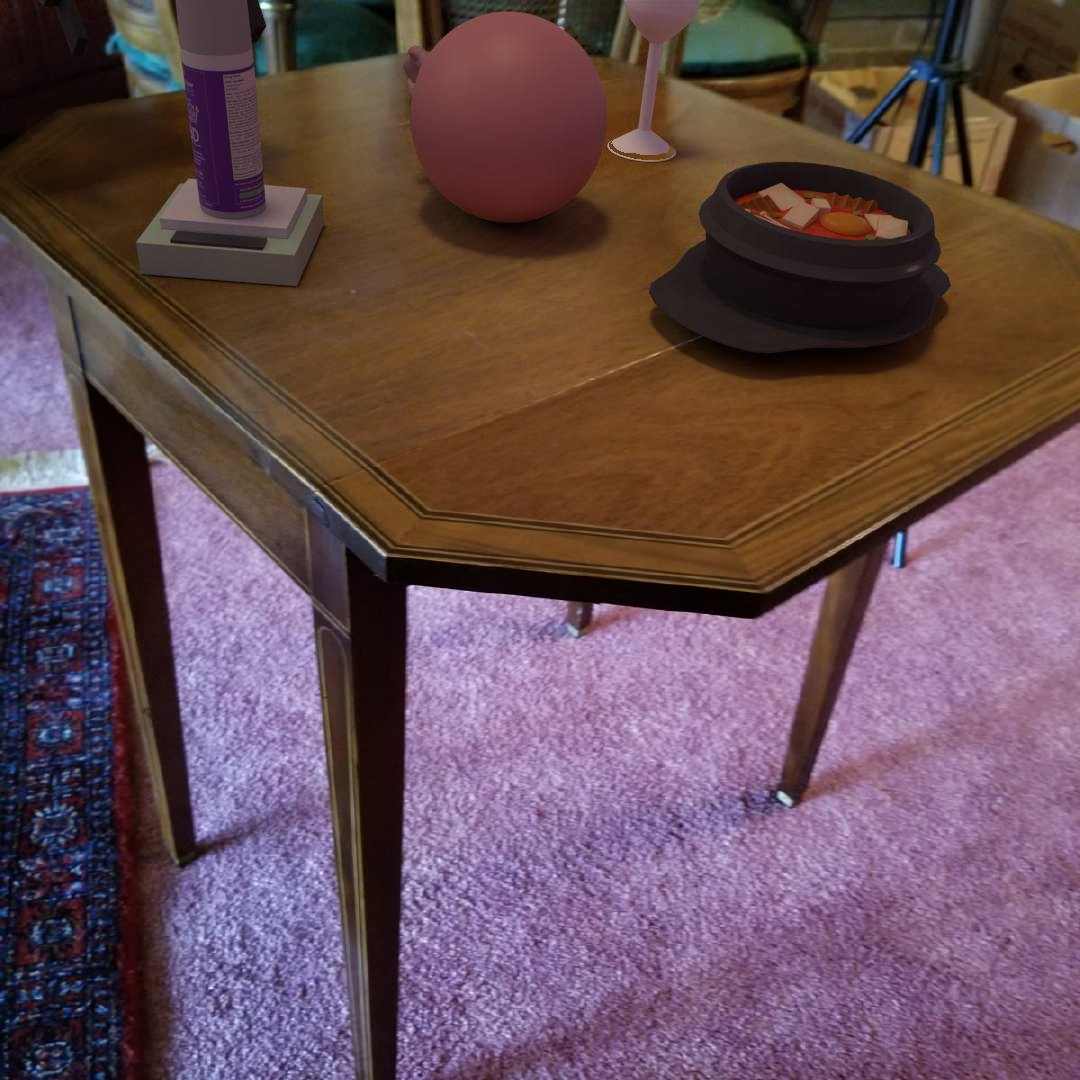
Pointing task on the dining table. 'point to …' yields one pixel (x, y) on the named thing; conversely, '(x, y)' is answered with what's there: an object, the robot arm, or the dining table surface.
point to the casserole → (807, 262)
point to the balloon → (507, 116)
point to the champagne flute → (653, 67)
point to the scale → (233, 238)
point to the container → (222, 106)
